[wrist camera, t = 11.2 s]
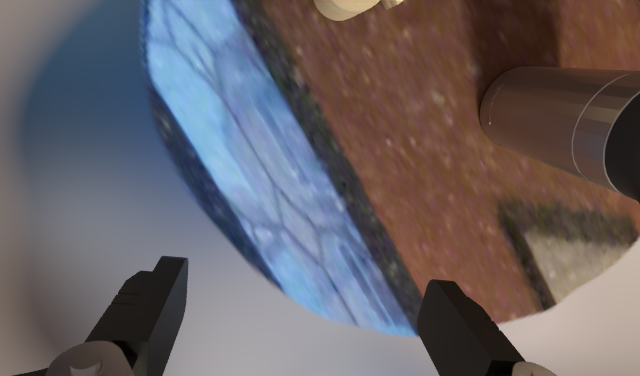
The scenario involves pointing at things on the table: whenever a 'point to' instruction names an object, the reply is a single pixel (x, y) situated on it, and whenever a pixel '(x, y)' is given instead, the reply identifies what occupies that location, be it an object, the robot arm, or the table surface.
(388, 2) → the letter k block
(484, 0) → the table surface
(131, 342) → the robot arm
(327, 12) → the candle
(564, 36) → the table surface
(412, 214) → the table surface
